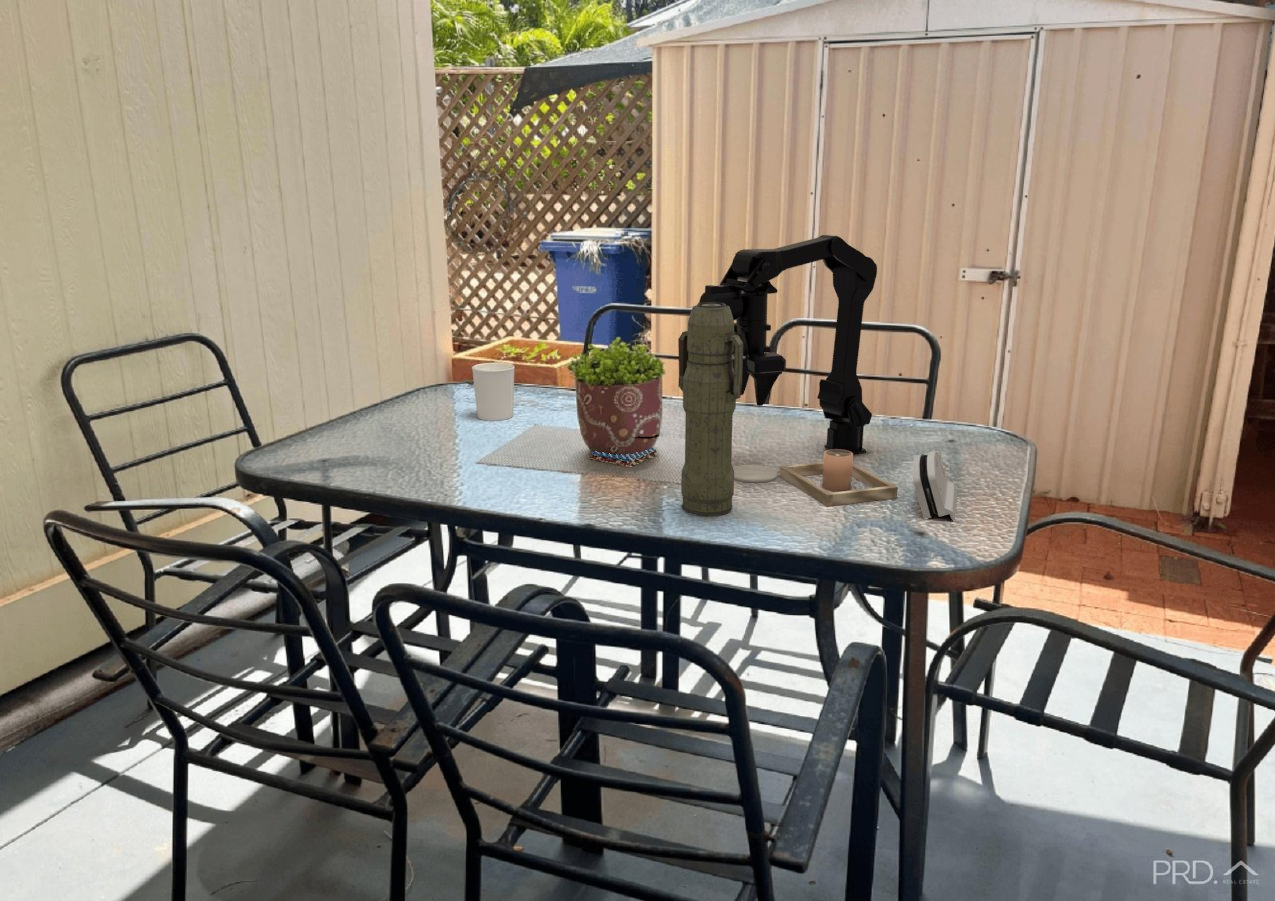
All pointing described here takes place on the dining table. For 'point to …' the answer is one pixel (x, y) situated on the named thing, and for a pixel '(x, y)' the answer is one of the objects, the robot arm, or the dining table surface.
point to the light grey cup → (494, 390)
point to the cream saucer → (754, 473)
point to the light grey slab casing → (933, 486)
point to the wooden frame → (877, 492)
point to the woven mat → (624, 457)
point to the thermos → (709, 407)
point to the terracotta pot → (837, 470)
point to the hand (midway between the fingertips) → (749, 400)
